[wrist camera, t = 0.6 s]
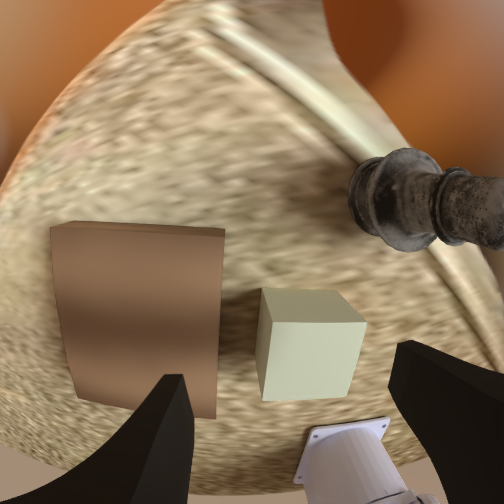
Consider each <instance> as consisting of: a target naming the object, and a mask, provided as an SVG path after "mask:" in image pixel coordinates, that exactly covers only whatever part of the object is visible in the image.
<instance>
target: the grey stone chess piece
mask: <svg viewBox="0 0 504 504" xmlns="http://www.w3.org/2000/svg"><path fill="white" fill-rule="evenodd" d="M348 204H349V207H350V211H351V214H352V216H353V218H354V219H355V221H356V223H357V224H358V225H359V226H360V227H361V228H362V229H363V230H364V231H366V232H368V233H370V234H371V235H375V236H380V237H381V238H382V239H383V240H384V241H385V243H386V244H387V245H389V246H391V247H393V248H394V249H396V250H398V251H404V252H414V251H419V250H421V249H423V248H425V247H427V246H429V245H430V244H431V243H432V242H433V241H434V240H435V239H436V238H437V237H439V239H440V240H441V241H443V242H444V243H445V244H447V245H451V246H459V245H462V244H464V243H465V242H470V243H473V244H476V245H480V246H483V247H486V248H489V249H492V250H495V251H504V178H502V177H484V176H482V177H481V176H472V175H471V174H470V173H469V172H468V171H467V170H465V169H463V168H461V167H452V168H449V169H446V170H445V171H444V172H442V170H441V168H440V167H439V166H438V164H437V163H436V162H435V160H434V159H433V158H431V157H430V156H429V155H427V154H426V153H425V152H422V151H420V150H418V149H415V148H401V149H398V150H395V151H392V152H391V153H389V154H388V155H387V156H385V157H375V158H372V159H369V160H367V161H365V162H364V163H363V164H361V165H360V166H359V167H358V168H357V170H356V171H355V172H354V174H353V176H352V178H351V181H350V184H349V190H348Z"/></svg>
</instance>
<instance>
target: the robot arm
mask: <svg viewBox="0 0 504 504" xmlns="http://www.w3.org/2000/svg"><path fill="white" fill-rule="evenodd" d="M388 389H389V391H390V393H391V396H392V398H393V400H394V402H395V404H396V406H397V408H398V410H399V411H400V413H401V414H402V416H403V417H404V419H405V420H406V422H407V423H408V425H409V426H410V428H411V429H412V431H413V432H414V434H415V435H416V437H417V438H418V440H419V441H420V443H421V444H422V446H423V447H424V449H425V450H426V452H427V454H428V455H429V457H430V459H431V461H432V463H433V465H434V467H435V469H436V472H437V474H438V476H439V478H440V481H441V483H442V486H443V489H444V491H445V494H446V497H447V500H448V503H449V504H504V374H502V373H498V372H495V371H491V370H488V369H485V368H482V367H479V366H476V365H473V364H471V363H468V362H466V361H463V360H461V359H458V358H456V357H453V356H451V355H449V354H446V353H444V352H441V351H439V350H437V349H434V348H432V347H430V346H427V345H425V344H422V343H420V342H417V341H414V340H408V341H405V342H401V343H397V349H396V353H395V358H394V363H393V367H392V372H391V376H390V380H389V384H388ZM389 422H390V418H389V417H382V418H377V419H371V420H365V421H359V422H353V423H346V424H338V425H329V426H320V427H314V428H312V429H311V431H310V433H309V436H308V440H307V443H306V446H305V449H304V451H303V454H302V457H301V460H300V463H299V466H298V468H297V471H296V474H295V476H294V479H293V482H294V484H302V483H303V486H304V489H305V493H306V497H307V501H308V504H440V503H439V501H438V500H437V499H436V498H435V497H434V496H433V495H431V494H425V493H421V494H419V495H418V496H416V495H415V494H414V492H413V490H412V489H410V490H408V489H407V487H406V485H405V484H404V482H403V480H402V478H401V477H400V475H399V473H398V471H397V469H396V468H395V466H394V464H393V462H392V461H391V459H390V457H389V455H388V453H387V452H386V450H385V448H384V446H383V445H382V443H381V441H380V440H381V438H382V436H383V434H384V432H385V430H386V428H387V426H388V424H389ZM193 450H194V414H193V411H192V407H191V403H190V400H189V396H188V392H187V388H186V384H185V380H184V376H183V374H164V375H163V376H162V377H161V379H160V380H159V381H158V382H157V384H156V385H155V386H154V388H153V389H152V390H151V392H150V393H149V394H148V396H147V397H146V398H145V399H144V401H143V402H142V403H141V404H140V406H139V407H138V408H137V409H136V410H135V412H134V413H133V414H132V415H131V416H130V418H129V419H128V420H127V421H126V422H125V423H124V424H123V425H122V426H121V427H120V428H119V430H118V431H117V432H116V433H115V434H114V435H113V436H112V437H111V438H110V439H109V440H108V441H107V442H106V443H105V444H104V445H102V446H101V447H100V448H99V449H98V450H97V451H96V452H94V453H93V454H92V455H91V456H90V457H88V458H87V459H86V460H84V461H83V462H81V463H80V464H79V465H77V466H76V467H74V468H73V469H71V470H70V471H68V472H67V473H65V474H64V475H62V476H61V477H59V478H57V479H55V480H53V481H52V482H50V483H48V484H46V485H44V486H42V487H40V488H38V489H36V490H33V491H31V492H29V493H26V494H23V495H21V496H17V497H15V498H12V499H8V500H5V501H2V502H0V504H187V498H188V490H189V481H190V474H191V466H192V458H193Z"/></svg>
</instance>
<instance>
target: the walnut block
mask: <svg viewBox="0 0 504 504" xmlns="http://www.w3.org/2000/svg"><path fill="white" fill-rule="evenodd" d="M50 236H51V256H52V268H53V279H54V288H55V296H56V303H57V310H58V316H59V322H60V327H61V333H62V338H63V343H64V347H65V352H66V356H67V360H68V364H69V368H70V372H71V376H72V380H73V383H74V387H75V390H76V394H77V397H78V398H80V399H83V400H87V401H92V402H96V403H100V404H105V405H110V406H115V407H120V408H125V409H130V410H136V409H137V408H138V407H139V406H140V404H141V403H142V402H143V401H144V399H145V398H146V397H147V396H148V394H149V393H150V392H151V390H152V389H153V388H154V386H155V385H156V384H157V382H158V381H159V380H160V379H161V377H162V376H163V375H164V374H183V376H184V380H185V384H186V388H187V392H188V396H189V400H190V403H191V407H192V411H193V414H194V418H205V419H216V401H217V371H218V346H219V324H220V305H221V287H222V270H223V255H224V240H225V229H219V228H204V227H188V226H171V225H154V224H135V223H115V222H93V221H71V222H68V223H64V224H60V225H57V226H53V227H50Z"/></svg>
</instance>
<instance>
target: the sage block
mask: <svg viewBox="0 0 504 504" xmlns="http://www.w3.org/2000/svg"><path fill="white" fill-rule="evenodd" d="M366 326H367V321H366V320H365V319H364V318H363V317H362V316H361V315H360V314H359V313H358V312H357V311H356V310H355V309H354V308H353V307H352V306H351V305H350V304H349V303H348V302H347V301H346V300H345V299H344V298H343V297H342V296H341V295H340V294H339V293H338V292H337V291H336V290H307V289H283V288H263V287H262V290H261V299H260V309H259V319H258V328H257V338H256V347H255V360H256V367H257V373H258V379H259V385H260V391H261V397H262V401H287V400H310V399H324V398H336V397H346V395H347V392H348V389H349V386H350V383H351V380H352V377H353V374H354V370H355V367H356V363H357V360H358V357H359V353H360V349H361V346H362V342H363V338H364V334H365V330H366Z"/></svg>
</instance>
